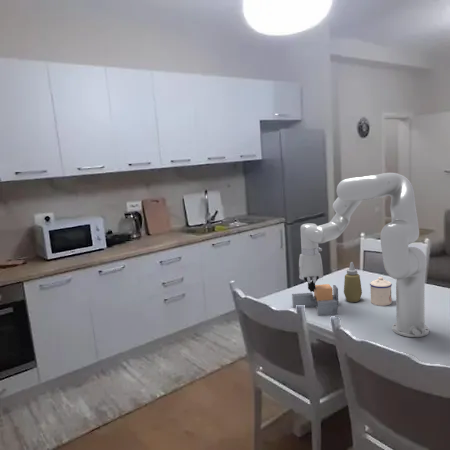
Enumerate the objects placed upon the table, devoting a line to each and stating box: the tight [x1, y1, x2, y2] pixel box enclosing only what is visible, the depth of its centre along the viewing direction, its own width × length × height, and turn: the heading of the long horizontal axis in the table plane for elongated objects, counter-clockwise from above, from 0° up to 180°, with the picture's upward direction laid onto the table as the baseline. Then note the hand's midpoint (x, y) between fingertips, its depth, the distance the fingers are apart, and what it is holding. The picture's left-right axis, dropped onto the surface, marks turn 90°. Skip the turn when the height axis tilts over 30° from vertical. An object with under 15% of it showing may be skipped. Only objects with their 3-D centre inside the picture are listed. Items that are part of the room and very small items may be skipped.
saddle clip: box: [313, 283, 333, 301], centre depth 188 cm, size 6×7×7 cm
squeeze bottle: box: [343, 261, 363, 303], centre depth 189 cm, size 8×8×18 cm
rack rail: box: [291, 284, 340, 309], centre depth 189 cm, size 10×20×8 cm, turn 89°
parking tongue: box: [316, 300, 338, 316], centre depth 176 cm, size 3×8×6 cm, turn 89°
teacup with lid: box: [369, 276, 393, 307], centre depth 185 cm, size 12×9×12 cm
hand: (311, 290), depth 187 cm, fingers closed
